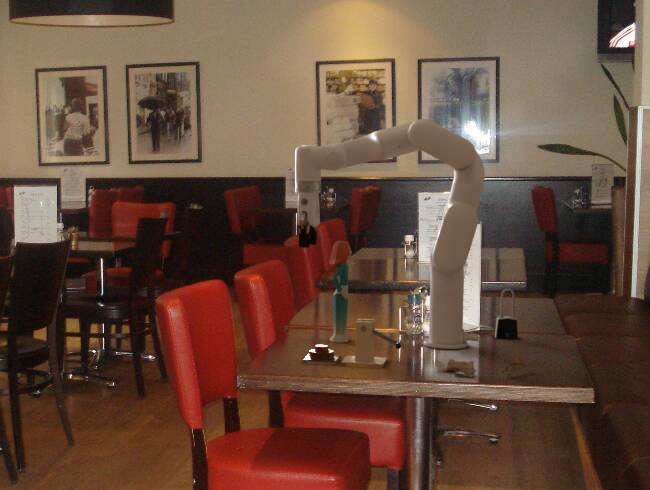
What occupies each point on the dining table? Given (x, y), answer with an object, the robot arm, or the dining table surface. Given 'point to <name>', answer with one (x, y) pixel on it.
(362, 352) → the bracket
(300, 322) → the dining table surface
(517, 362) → the fish
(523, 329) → the dining table surface
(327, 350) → the button
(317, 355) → the button box
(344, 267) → the sculpture
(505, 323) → the padlock
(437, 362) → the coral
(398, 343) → the lever
